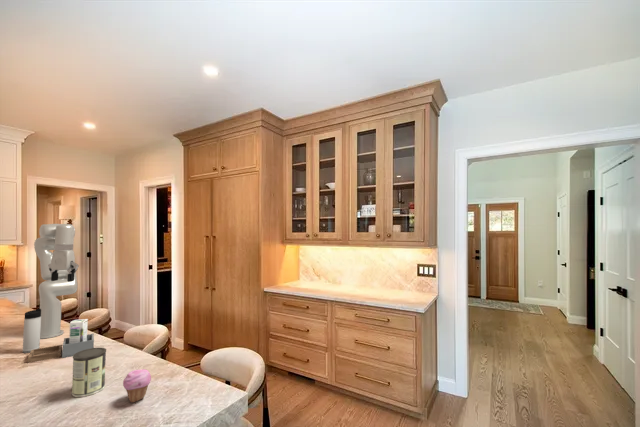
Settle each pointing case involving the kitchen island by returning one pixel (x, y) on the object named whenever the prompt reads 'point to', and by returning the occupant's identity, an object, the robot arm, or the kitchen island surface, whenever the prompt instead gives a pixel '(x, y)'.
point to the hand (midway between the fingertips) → (62, 280)
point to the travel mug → (32, 330)
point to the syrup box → (78, 331)
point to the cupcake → (137, 384)
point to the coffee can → (88, 372)
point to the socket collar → (45, 356)
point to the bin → (77, 346)
